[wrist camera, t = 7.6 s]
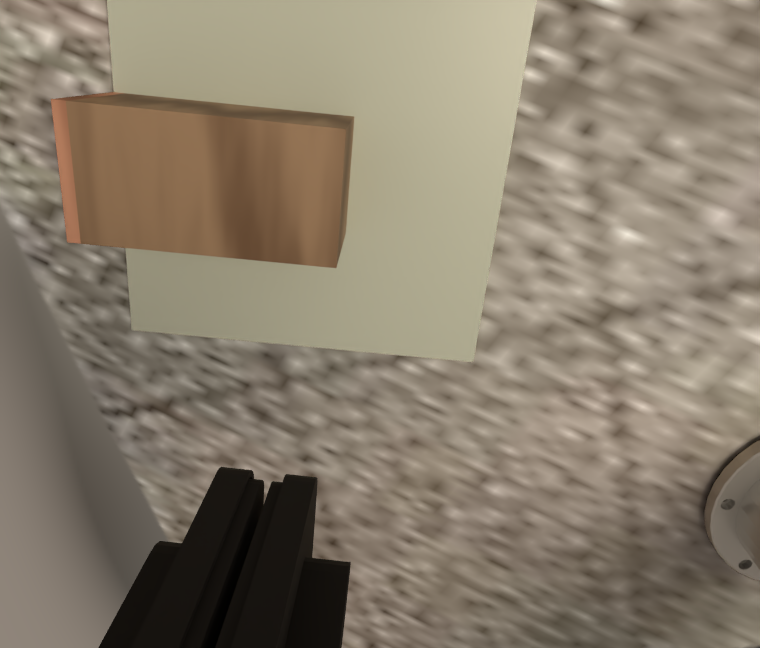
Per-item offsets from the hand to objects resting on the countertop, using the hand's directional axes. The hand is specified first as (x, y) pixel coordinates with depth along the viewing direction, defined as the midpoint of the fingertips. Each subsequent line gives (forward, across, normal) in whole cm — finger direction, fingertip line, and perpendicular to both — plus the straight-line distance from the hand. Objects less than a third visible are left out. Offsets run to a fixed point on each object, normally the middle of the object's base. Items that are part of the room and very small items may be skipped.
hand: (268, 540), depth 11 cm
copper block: (+21, +1, -2) cm, 21 cm away
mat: (+24, +3, -2) cm, 25 cm away
